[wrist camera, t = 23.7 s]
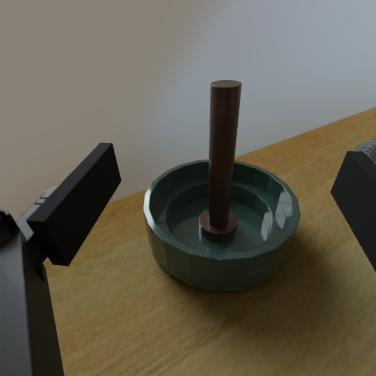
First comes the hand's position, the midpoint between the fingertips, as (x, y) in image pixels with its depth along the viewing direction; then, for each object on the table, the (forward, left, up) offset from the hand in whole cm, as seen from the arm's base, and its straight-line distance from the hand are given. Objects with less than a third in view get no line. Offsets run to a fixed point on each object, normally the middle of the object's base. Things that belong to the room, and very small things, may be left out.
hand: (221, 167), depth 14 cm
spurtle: (-4, +9, -15) cm, 18 cm away
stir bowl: (-4, +9, -16) cm, 19 cm away
